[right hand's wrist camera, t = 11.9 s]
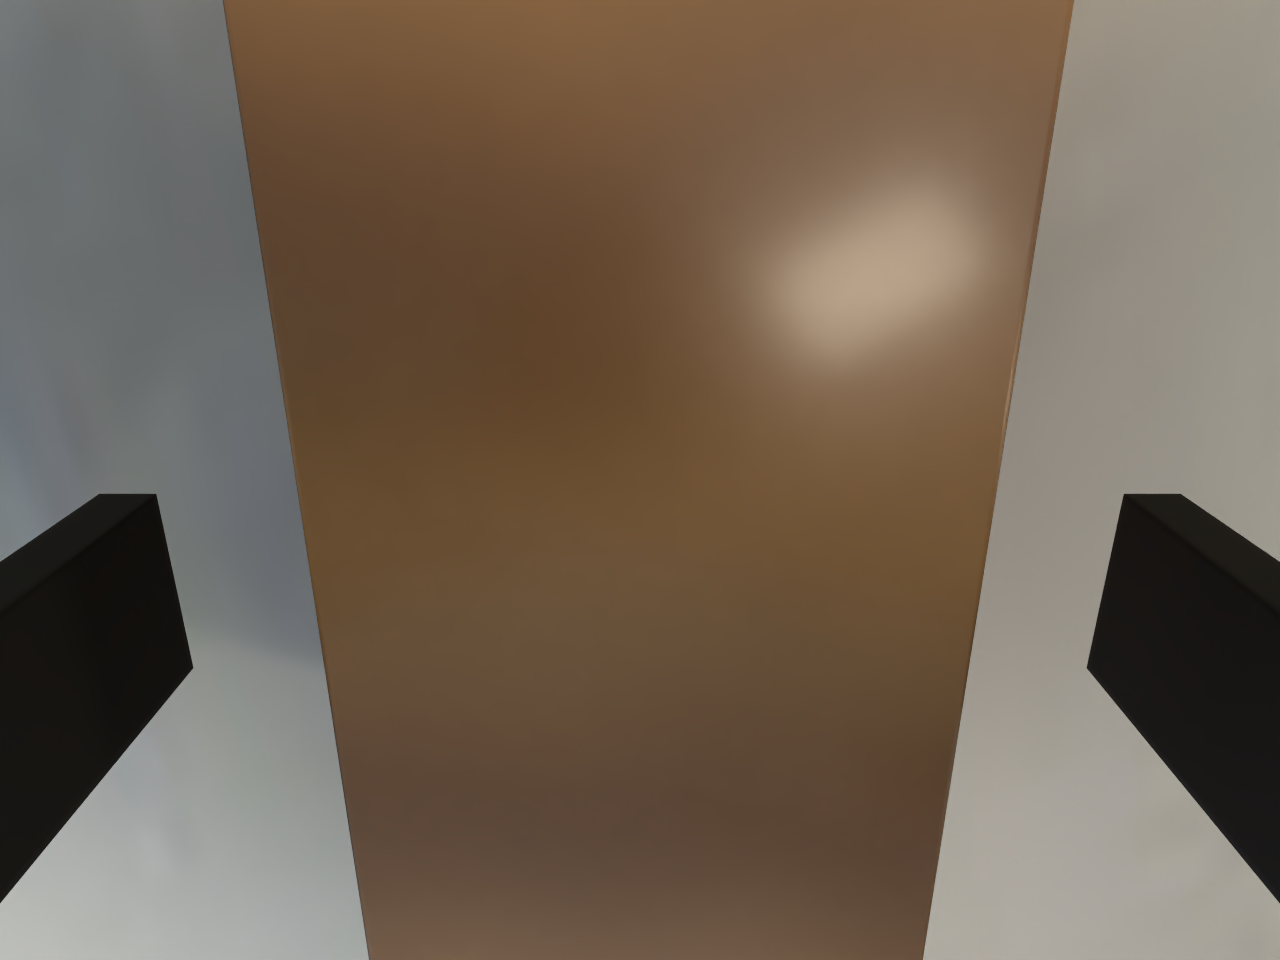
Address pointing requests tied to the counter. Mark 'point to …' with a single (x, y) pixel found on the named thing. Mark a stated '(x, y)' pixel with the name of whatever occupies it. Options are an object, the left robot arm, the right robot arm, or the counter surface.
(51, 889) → the counter surface
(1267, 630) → the right robot arm
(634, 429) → the post
